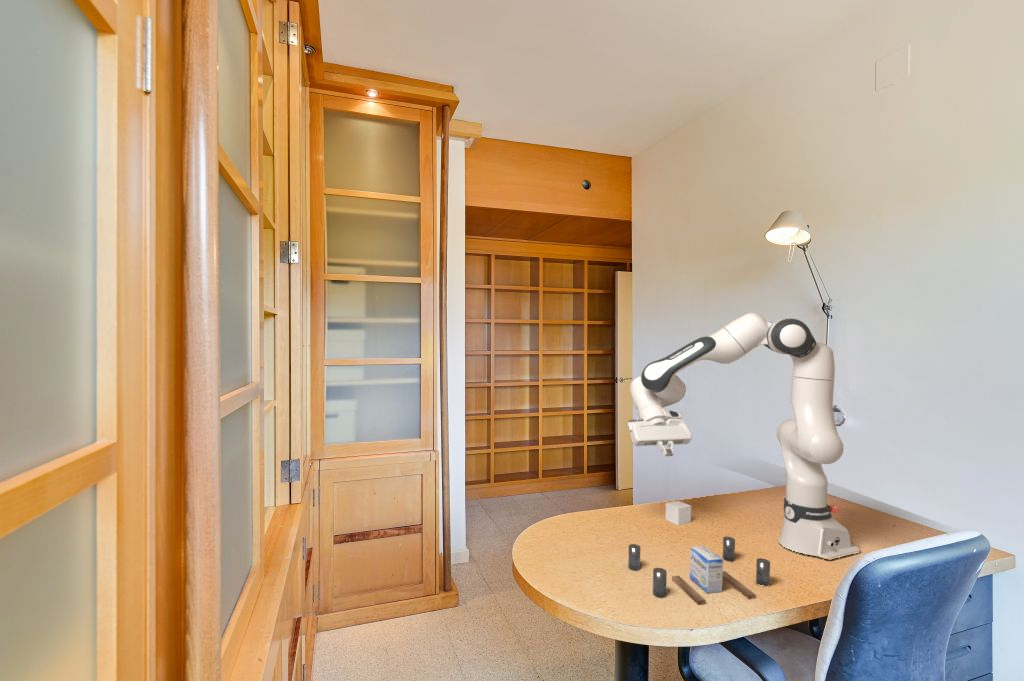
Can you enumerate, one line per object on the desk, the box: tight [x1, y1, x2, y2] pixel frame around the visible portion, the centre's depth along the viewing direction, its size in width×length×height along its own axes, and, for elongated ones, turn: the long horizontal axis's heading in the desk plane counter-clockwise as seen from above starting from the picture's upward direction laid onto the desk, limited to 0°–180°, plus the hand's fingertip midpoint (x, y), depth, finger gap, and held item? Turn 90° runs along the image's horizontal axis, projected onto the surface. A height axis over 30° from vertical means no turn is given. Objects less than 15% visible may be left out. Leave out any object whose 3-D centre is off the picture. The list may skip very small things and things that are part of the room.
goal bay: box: [671, 570, 757, 606], centre depth 125 cm, size 16×12×1 cm
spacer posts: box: [627, 536, 771, 599], centre depth 132 cm, size 33×17×6 cm, turn 102°
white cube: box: [665, 500, 692, 526], centre depth 171 cm, size 6×6×6 cm
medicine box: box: [689, 545, 724, 594], centre depth 127 cm, size 8×4×9 cm, turn 13°
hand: (669, 455), depth 153 cm, fingers closed
